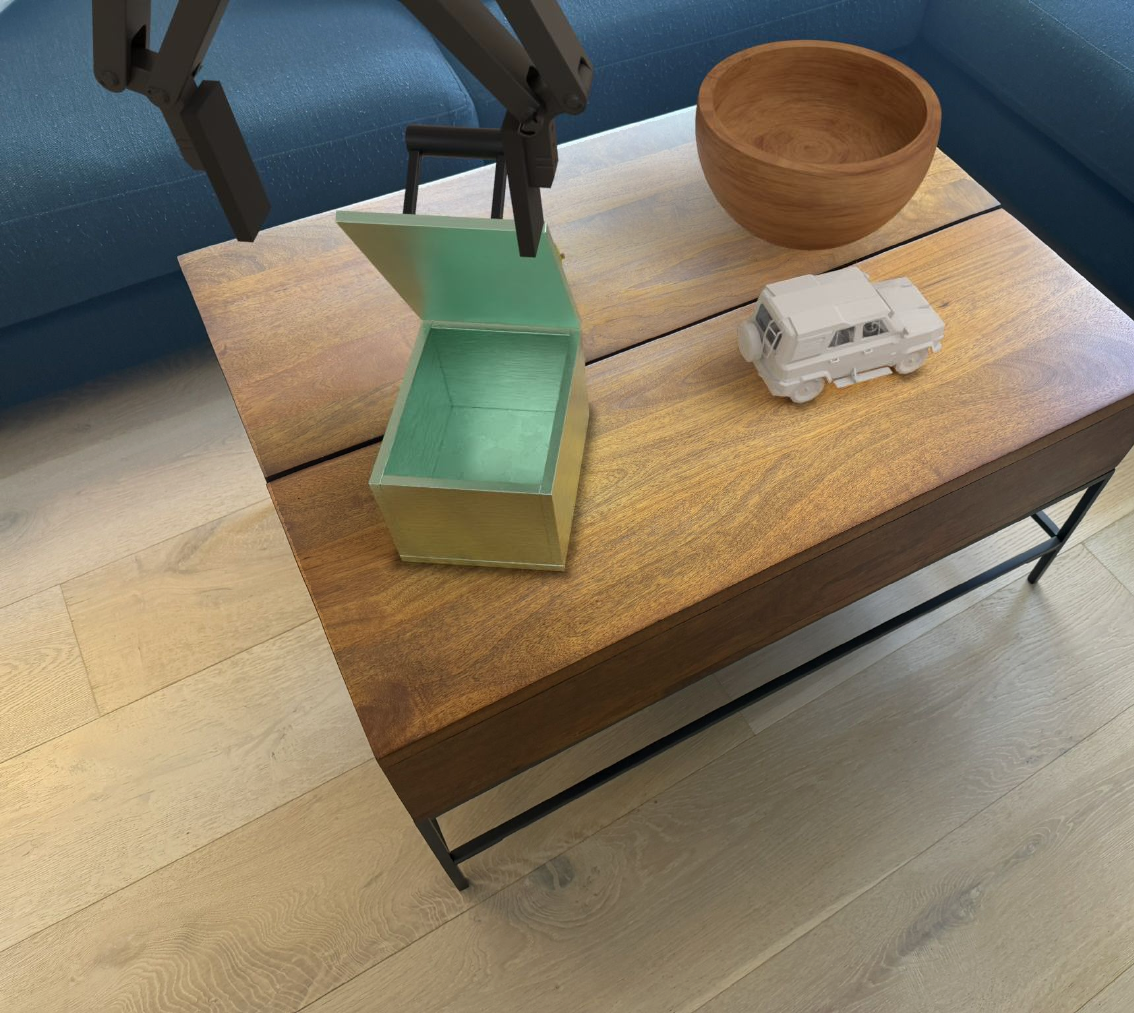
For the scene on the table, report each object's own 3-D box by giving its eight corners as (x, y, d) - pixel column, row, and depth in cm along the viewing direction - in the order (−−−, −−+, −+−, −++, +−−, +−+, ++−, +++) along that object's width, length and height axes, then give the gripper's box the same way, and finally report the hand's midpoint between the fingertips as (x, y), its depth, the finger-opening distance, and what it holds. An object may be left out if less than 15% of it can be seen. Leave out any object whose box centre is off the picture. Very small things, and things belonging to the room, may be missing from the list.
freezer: (564, 571, 75) (551, 494, 66) (401, 561, 76) (367, 483, 67) (589, 413, 86) (581, 328, 77) (446, 405, 86) (422, 319, 77)
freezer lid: (545, 232, 58) (556, 113, 59) (334, 221, 58) (348, 102, 59) (581, 329, 76) (588, 236, 78) (421, 320, 77) (430, 228, 78)
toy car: (947, 372, 90) (976, 294, 81) (764, 424, 85) (775, 347, 77) (897, 307, 95) (920, 228, 87) (723, 352, 91) (730, 274, 83)
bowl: (675, 170, 109) (677, 46, 97) (873, 154, 111) (900, 31, 99) (713, 309, 94) (721, 184, 82) (939, 287, 97) (980, 163, 85)
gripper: (652, -386, 28) (655, 198, 45) (-121, -413, 29) (171, 172, 46) (630, -322, 24) (642, 297, 41) (-282, -355, 24) (107, 268, 42)
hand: (393, 232), depth 44 cm, fingers open, 13 cm apart
